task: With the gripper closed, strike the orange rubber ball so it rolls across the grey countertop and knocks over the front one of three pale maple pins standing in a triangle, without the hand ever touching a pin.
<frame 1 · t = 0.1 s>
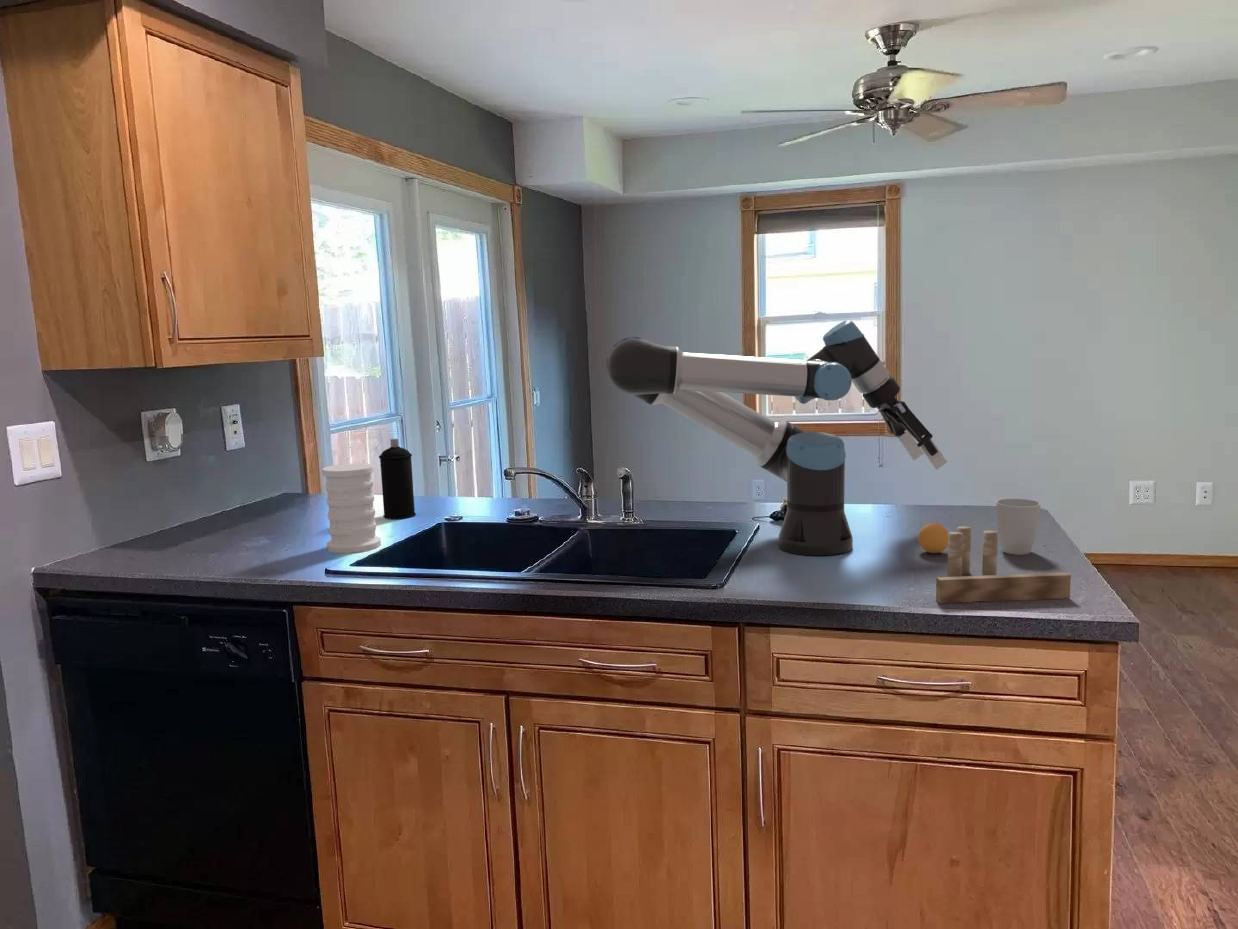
hand: (929, 461, 202), 15 cm above the countertop, tool tilted 35°, fingers open, 13 cm apart
decorative container: (354, 547, 203), on the countertop
aerosol can: (399, 516, 235), on the countertop
cup: (1016, 552, 183), on the countertop
front pin: (962, 572, 169), on the countertop
ball: (933, 538, 183), on the countertop
back wall: (1002, 599, 153), on the countertop
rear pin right: (954, 579, 165), on the countertop
rear pin left: (989, 577, 166), on the countertop
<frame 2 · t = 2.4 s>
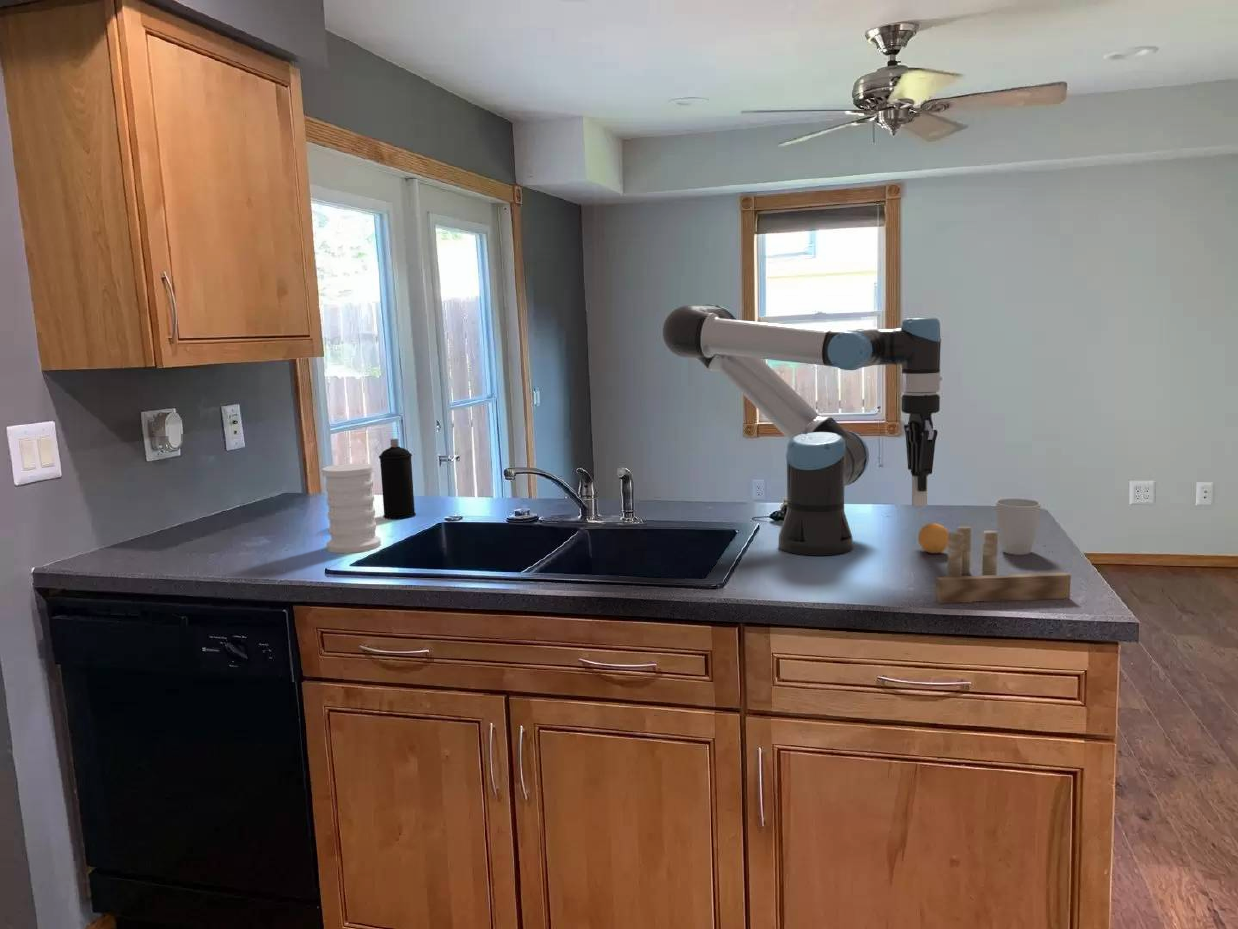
hand: (919, 505, 192), 8 cm above the countertop, tool pointing down, fingers closed
nothing on the countertop moved.
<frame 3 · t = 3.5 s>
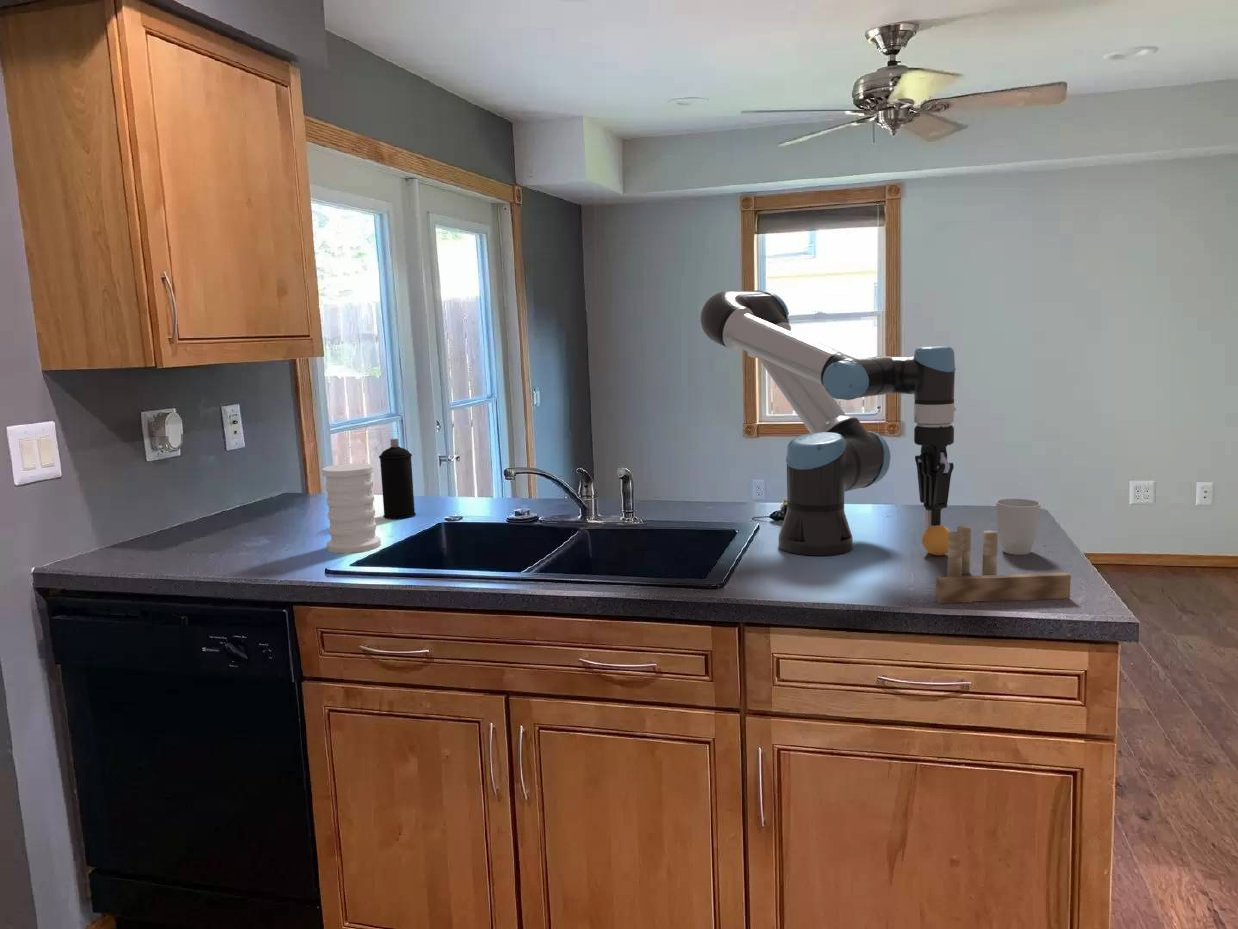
hand: (932, 540, 185), 2 cm above the countertop, tool pointing down, fingers closed
ball: (938, 540, 182), on the countertop
everything else where it was.
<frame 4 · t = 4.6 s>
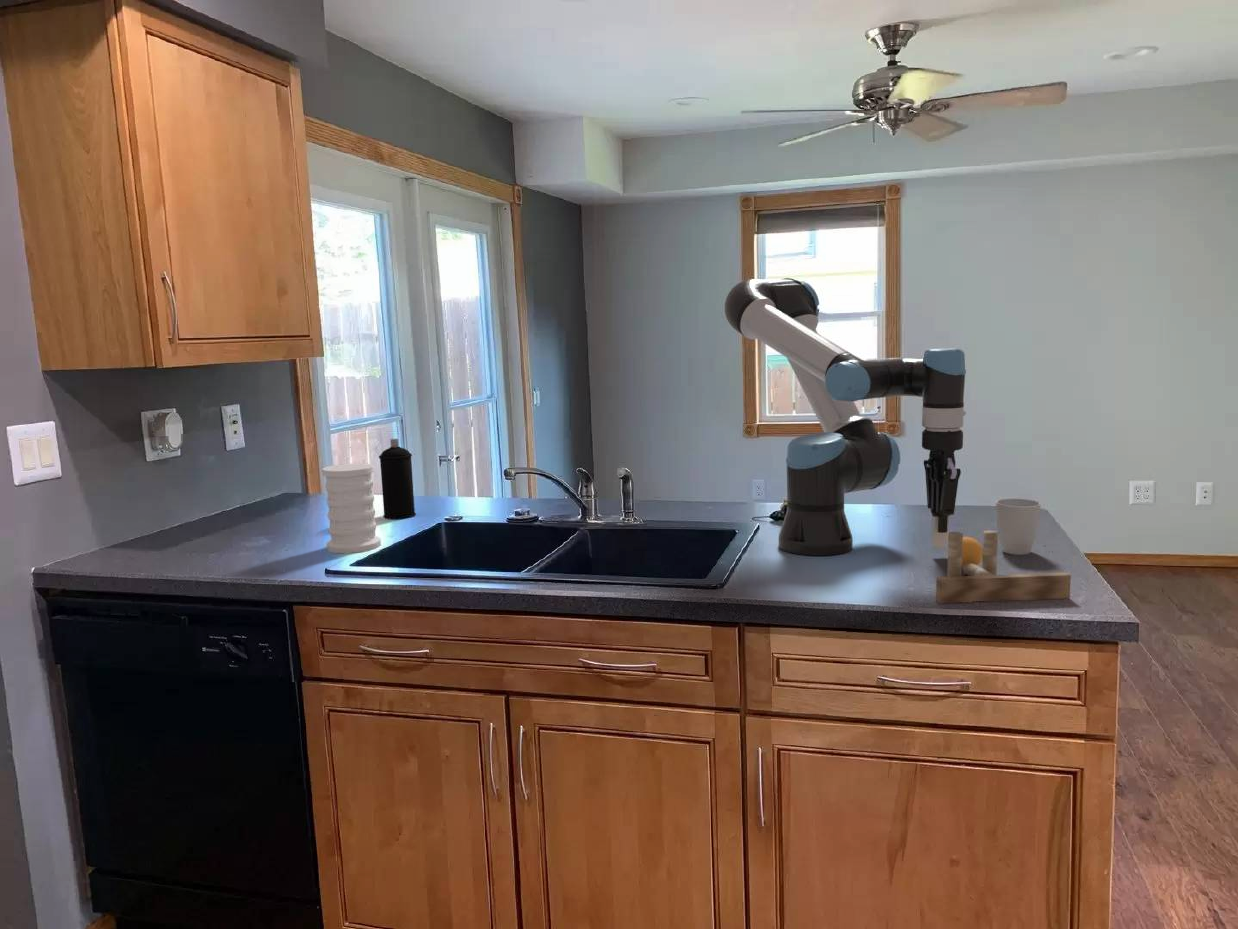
hand: (939, 547, 180), 2 cm above the countertop, tool pointing down, fingers closed
front pin: (969, 568, 168), point 1 cm above the countertop, tilted 90°
ball: (965, 552, 172), on the countertop
everything else where it was.
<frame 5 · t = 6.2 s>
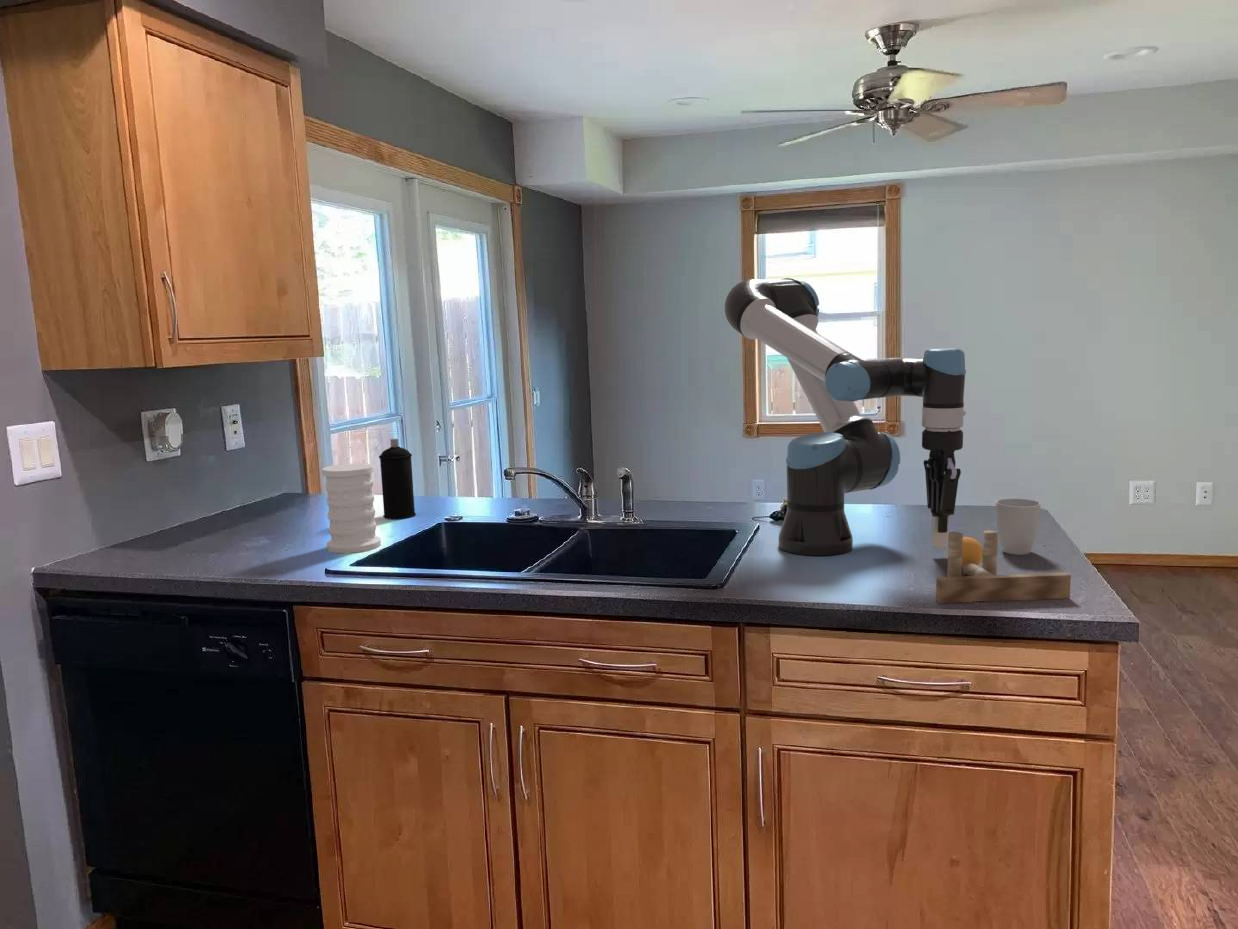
hand: (939, 547, 180), 2 cm above the countertop, tool pointing down, fingers closed
nothing on the countertop moved.
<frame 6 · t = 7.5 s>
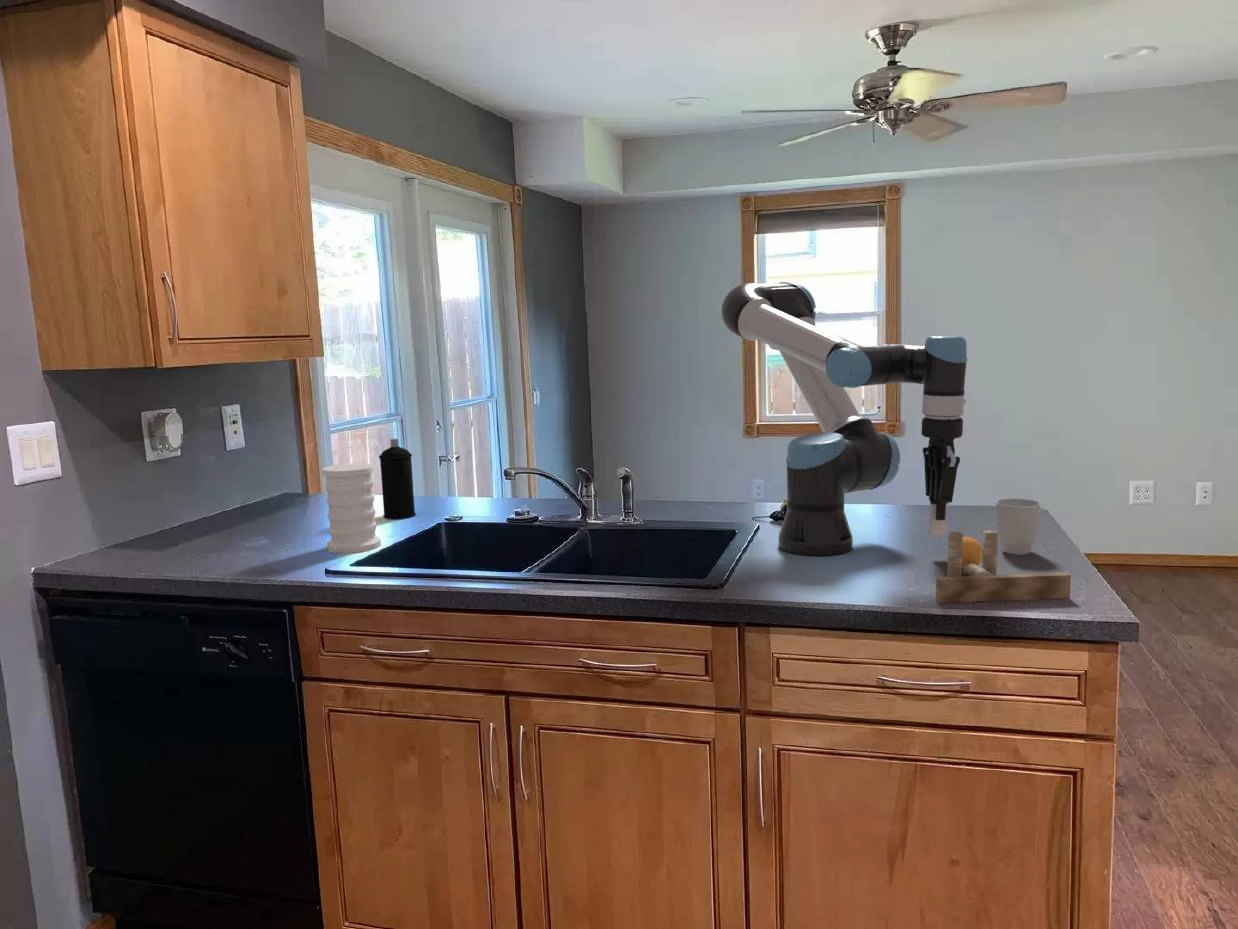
hand: (936, 534, 181), 4 cm above the countertop, tool pointing down, fingers closed
nothing on the countertop moved.
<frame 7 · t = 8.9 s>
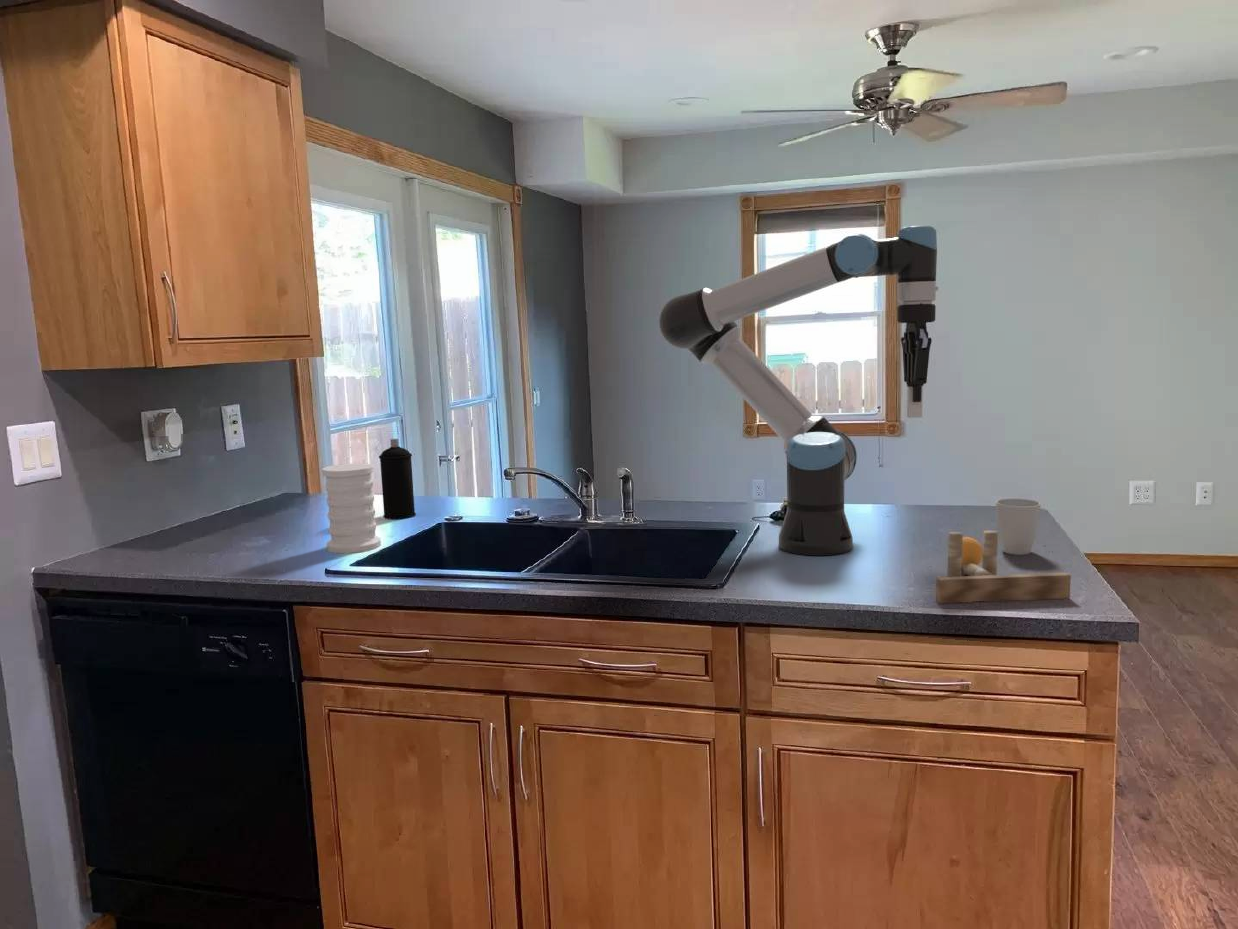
hand: (914, 417, 192), 26 cm above the countertop, tool pointing down, fingers closed
nothing on the countertop moved.
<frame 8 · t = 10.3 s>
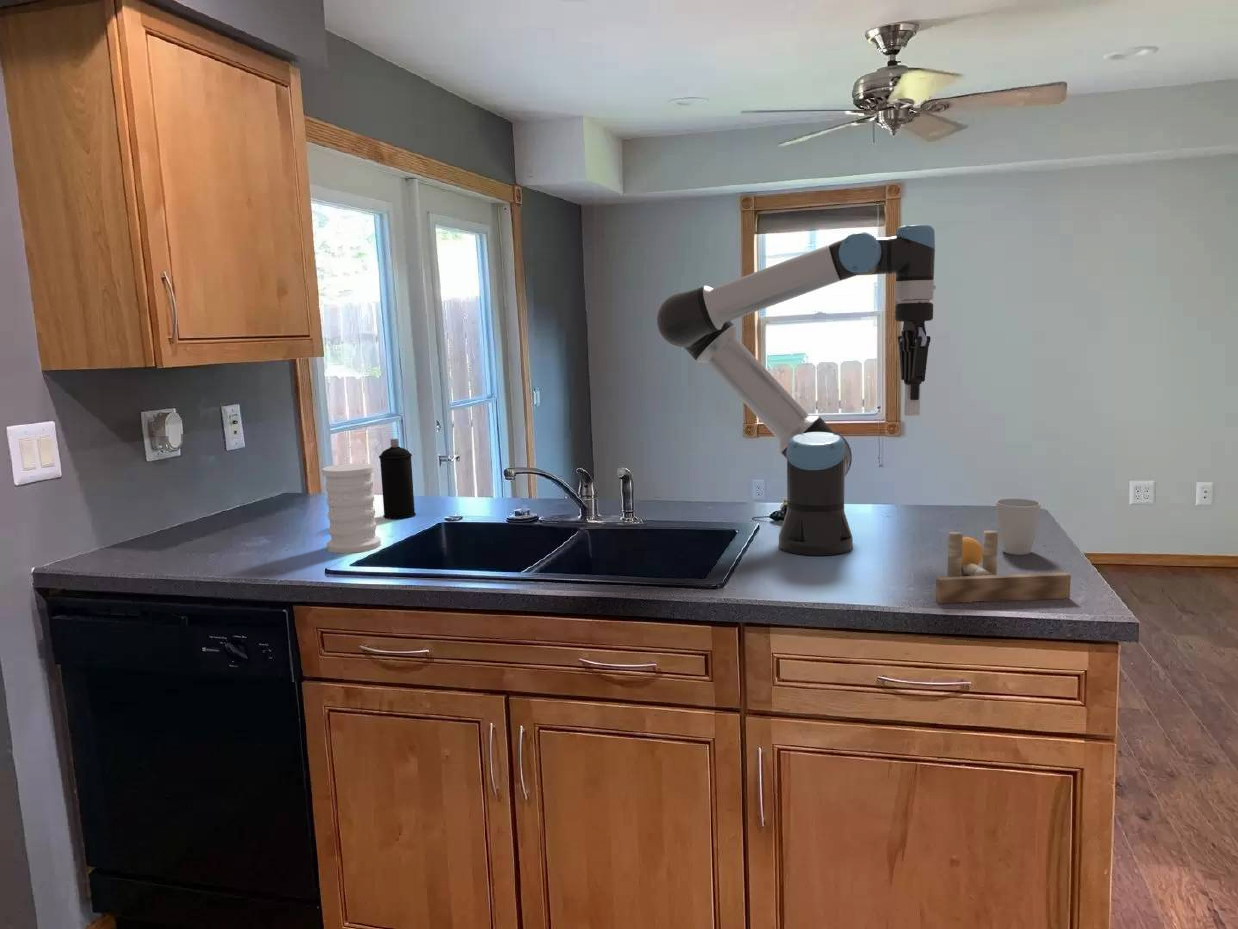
hand: (911, 414, 193), 26 cm above the countertop, tool pointing down, fingers closed
nothing on the countertop moved.
at the end: front pin tilted 90°; front pin never touched the robot; ball moved 11.9 cm from its start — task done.
